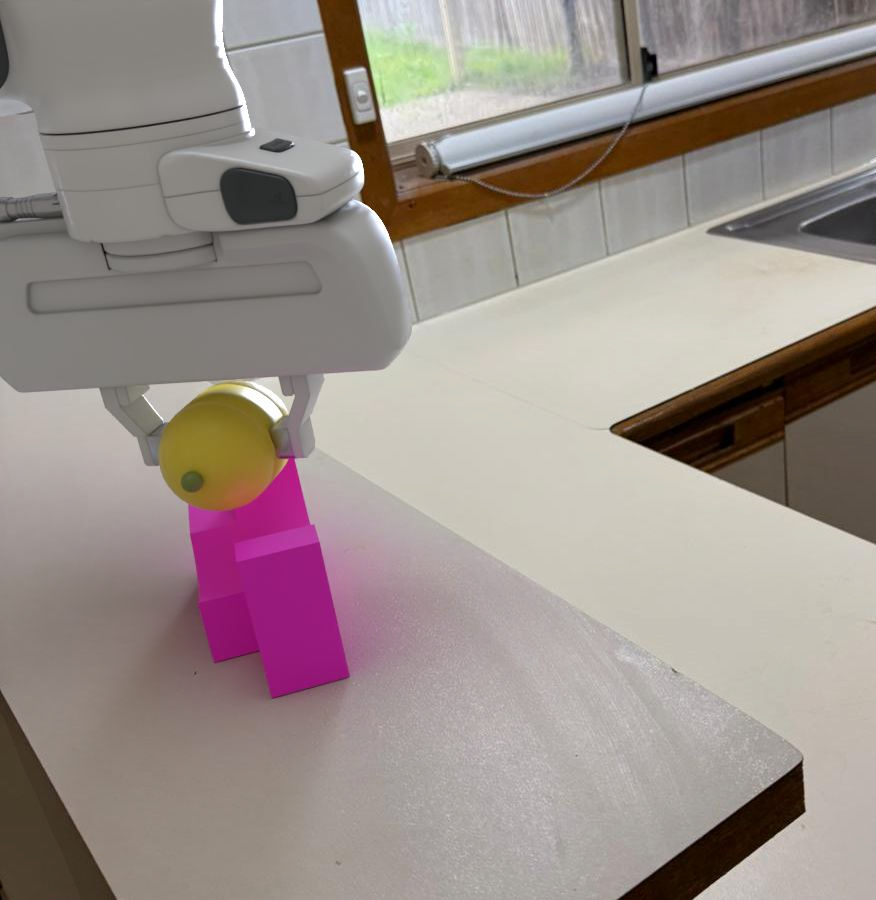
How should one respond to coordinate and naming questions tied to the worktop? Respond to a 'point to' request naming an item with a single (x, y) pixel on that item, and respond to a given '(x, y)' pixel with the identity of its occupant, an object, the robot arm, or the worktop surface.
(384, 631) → the worktop surface
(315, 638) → the toy block
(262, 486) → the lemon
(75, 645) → the worktop surface
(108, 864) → the worktop surface
